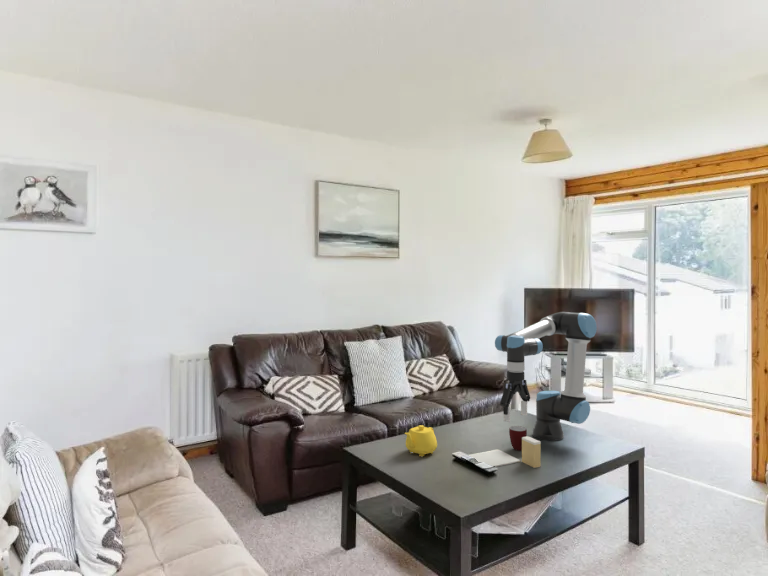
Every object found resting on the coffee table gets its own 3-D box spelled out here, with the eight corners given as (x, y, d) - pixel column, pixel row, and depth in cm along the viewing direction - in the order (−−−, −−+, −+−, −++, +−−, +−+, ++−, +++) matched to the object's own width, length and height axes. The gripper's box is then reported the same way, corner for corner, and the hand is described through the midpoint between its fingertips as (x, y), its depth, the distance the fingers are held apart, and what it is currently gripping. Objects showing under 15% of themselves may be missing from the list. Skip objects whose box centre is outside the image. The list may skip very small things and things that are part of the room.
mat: (498, 450, 237) (498, 449, 237) (520, 461, 223) (520, 460, 223) (460, 457, 229) (460, 456, 229) (481, 469, 214) (481, 468, 214)
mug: (533, 452, 234) (533, 431, 234) (518, 454, 231) (518, 433, 231) (520, 445, 244) (520, 425, 244) (505, 447, 241) (505, 427, 241)
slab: (528, 460, 225) (528, 436, 224) (540, 466, 217) (540, 441, 217) (521, 461, 223) (521, 437, 223) (534, 467, 216) (534, 442, 216)
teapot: (444, 451, 236) (444, 425, 236) (415, 462, 222) (415, 434, 222) (422, 444, 246) (422, 419, 246) (393, 455, 232) (393, 427, 232)
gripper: (523, 366, 232) (523, 411, 233) (491, 373, 215) (491, 422, 216) (538, 368, 227) (538, 414, 227) (506, 376, 210) (506, 426, 210)
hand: (515, 418), depth 222 cm, fingers open, 13 cm apart
